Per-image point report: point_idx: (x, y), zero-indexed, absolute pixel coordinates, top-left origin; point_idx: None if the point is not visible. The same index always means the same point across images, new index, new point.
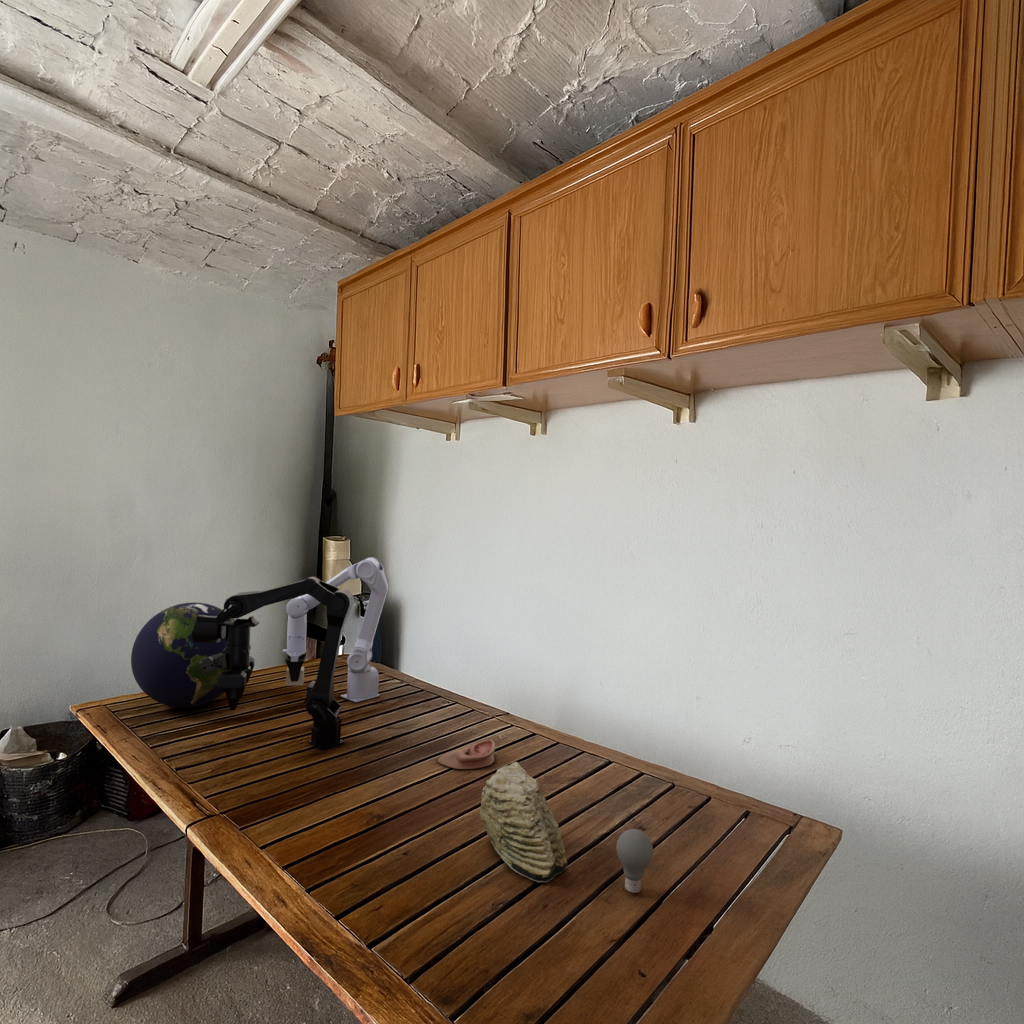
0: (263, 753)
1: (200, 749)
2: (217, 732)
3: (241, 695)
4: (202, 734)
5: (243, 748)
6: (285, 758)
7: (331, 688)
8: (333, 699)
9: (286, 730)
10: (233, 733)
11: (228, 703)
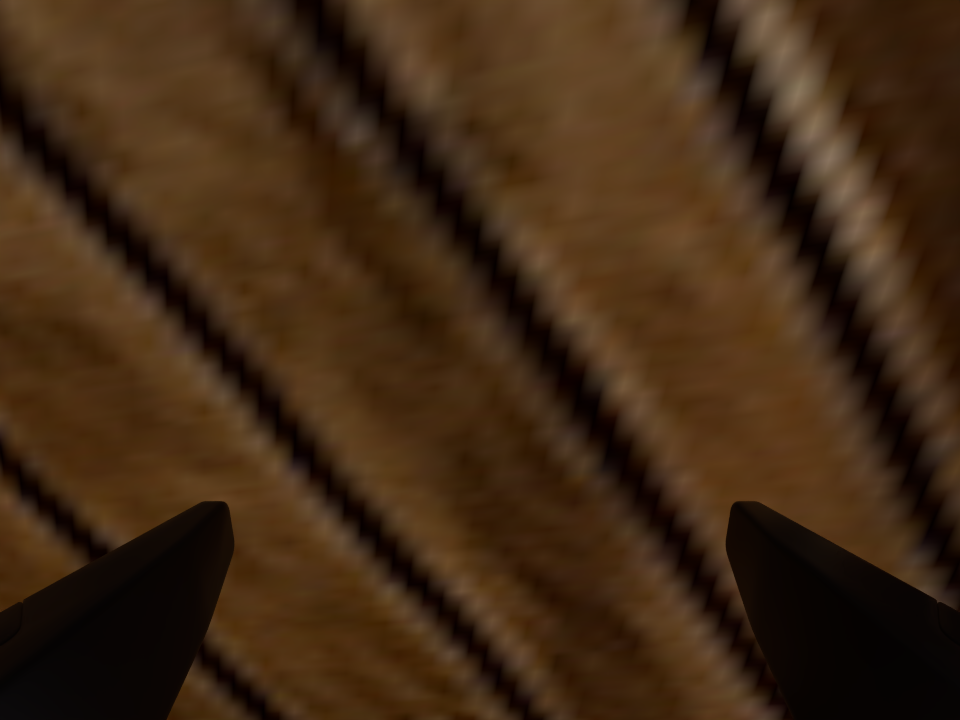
0: (250, 550)
1: (354, 101)
2: (744, 172)
3: (742, 590)
4: (728, 40)
5: (348, 423)
6: None
7: None
8: None
9: (652, 639)
10: (682, 309)
11: (106, 555)
